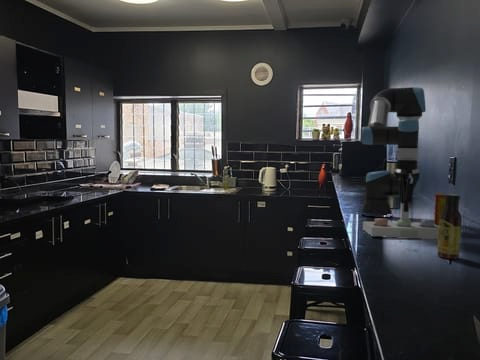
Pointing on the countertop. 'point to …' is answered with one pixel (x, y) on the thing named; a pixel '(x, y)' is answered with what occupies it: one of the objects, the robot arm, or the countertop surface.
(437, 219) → the baking soda box
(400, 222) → the sage button
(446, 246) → the sauce bottle
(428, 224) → the slate button
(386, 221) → the terracotta button
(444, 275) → the countertop surface
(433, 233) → the button console
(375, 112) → the robot arm
